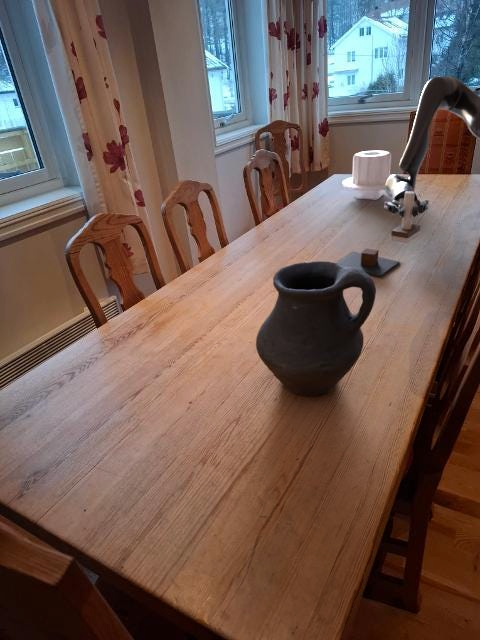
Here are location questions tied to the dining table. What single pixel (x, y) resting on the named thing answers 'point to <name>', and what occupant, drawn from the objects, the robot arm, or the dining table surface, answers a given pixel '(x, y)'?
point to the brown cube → (369, 257)
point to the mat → (377, 270)
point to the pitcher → (314, 326)
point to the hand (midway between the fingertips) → (408, 214)
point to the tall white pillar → (406, 222)
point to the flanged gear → (369, 174)
